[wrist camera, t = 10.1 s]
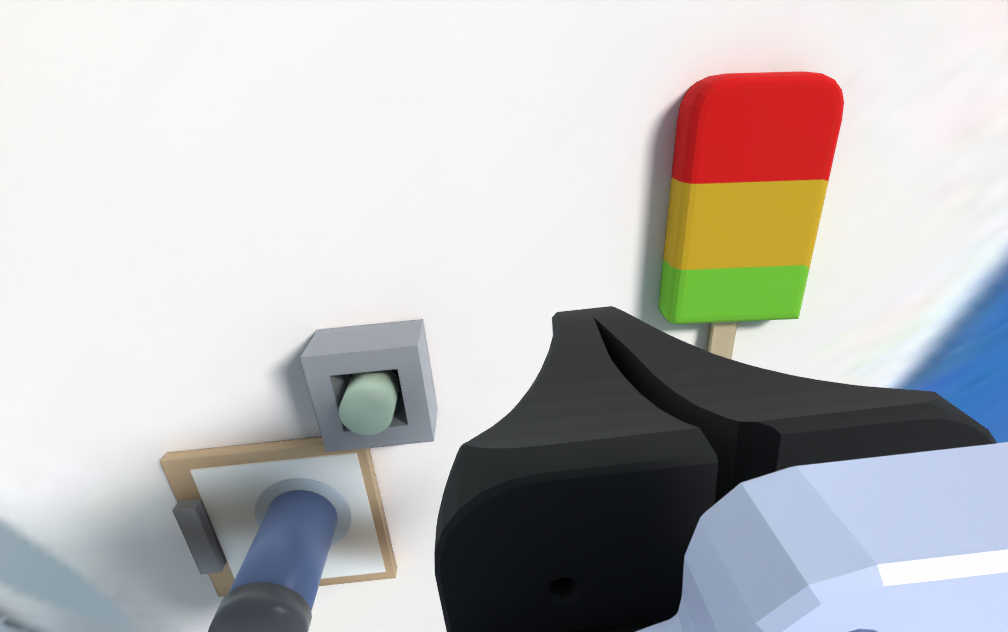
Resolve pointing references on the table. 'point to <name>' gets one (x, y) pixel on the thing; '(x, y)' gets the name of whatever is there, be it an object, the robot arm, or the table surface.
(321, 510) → the blue small bottle
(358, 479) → the clipboard
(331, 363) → the button housing
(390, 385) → the button
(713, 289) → the popsicle
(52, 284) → the table surface
